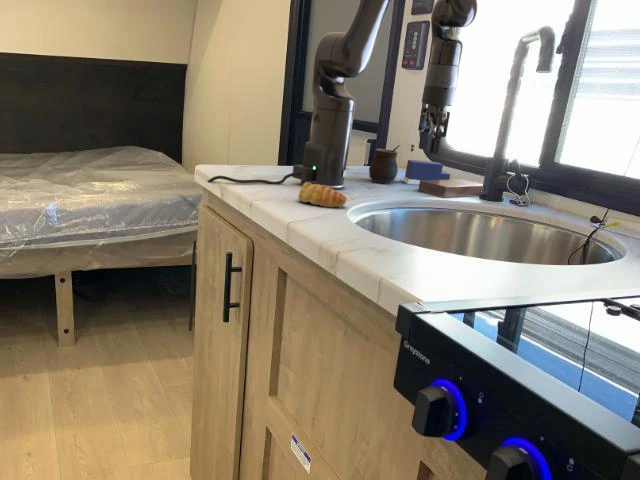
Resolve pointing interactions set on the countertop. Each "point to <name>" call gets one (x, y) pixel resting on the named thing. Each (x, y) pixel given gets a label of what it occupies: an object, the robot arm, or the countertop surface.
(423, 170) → the navy stepped block
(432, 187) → the shelf board
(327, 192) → the pastry
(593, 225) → the countertop surface
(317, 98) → the robot arm
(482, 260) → the countertop surface
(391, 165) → the mate gourd
